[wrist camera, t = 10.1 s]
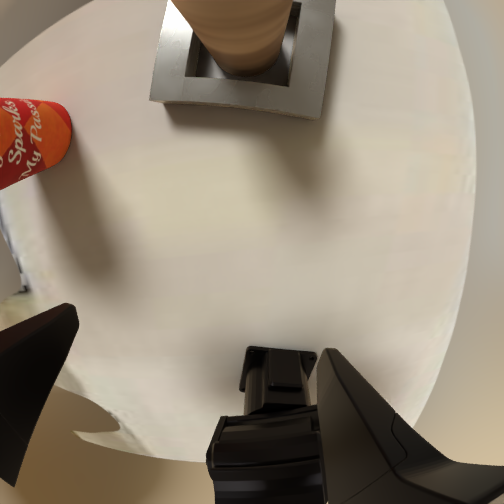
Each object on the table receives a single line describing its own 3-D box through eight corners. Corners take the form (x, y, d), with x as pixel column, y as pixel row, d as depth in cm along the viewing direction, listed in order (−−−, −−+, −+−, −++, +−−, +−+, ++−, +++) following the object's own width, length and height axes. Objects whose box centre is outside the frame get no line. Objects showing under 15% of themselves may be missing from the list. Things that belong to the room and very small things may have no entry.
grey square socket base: (312, 120, 17) (320, 118, 14) (162, 103, 16) (147, 100, 14) (328, 6, 13) (337, -9, 11) (184, -7, 13) (174, -23, 10)
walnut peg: (275, 81, 16) (298, 6, 5) (208, 74, 16) (131, 4, 5) (284, 23, 14) (310, -87, 3) (218, 17, 14) (168, -89, 3)
